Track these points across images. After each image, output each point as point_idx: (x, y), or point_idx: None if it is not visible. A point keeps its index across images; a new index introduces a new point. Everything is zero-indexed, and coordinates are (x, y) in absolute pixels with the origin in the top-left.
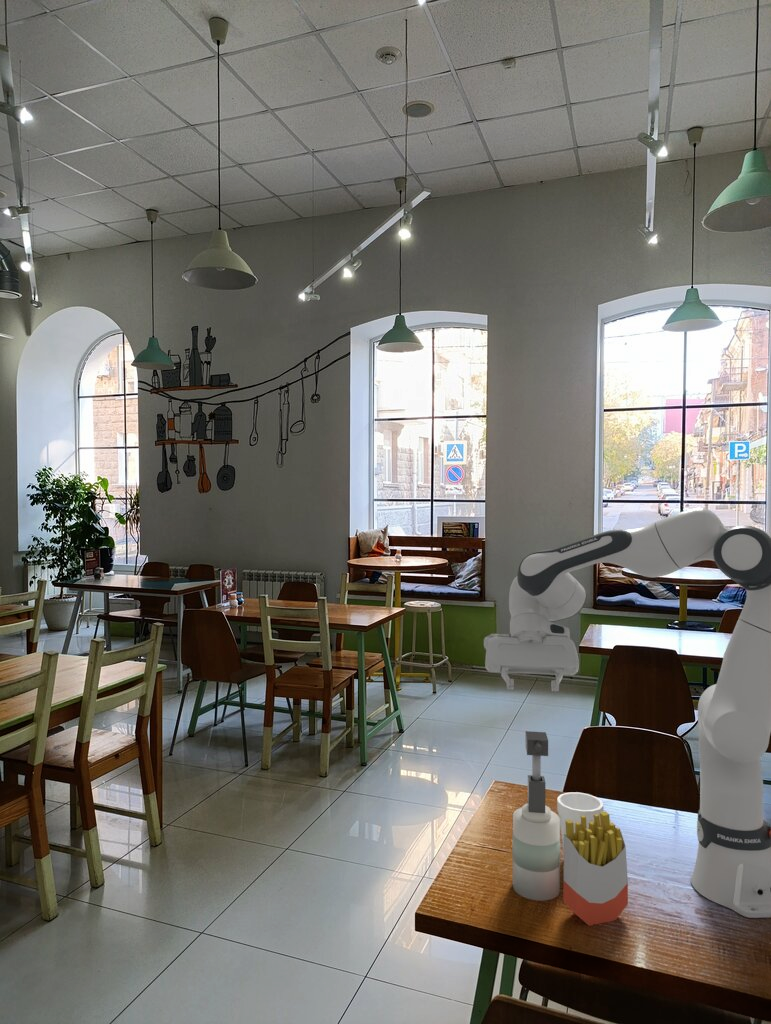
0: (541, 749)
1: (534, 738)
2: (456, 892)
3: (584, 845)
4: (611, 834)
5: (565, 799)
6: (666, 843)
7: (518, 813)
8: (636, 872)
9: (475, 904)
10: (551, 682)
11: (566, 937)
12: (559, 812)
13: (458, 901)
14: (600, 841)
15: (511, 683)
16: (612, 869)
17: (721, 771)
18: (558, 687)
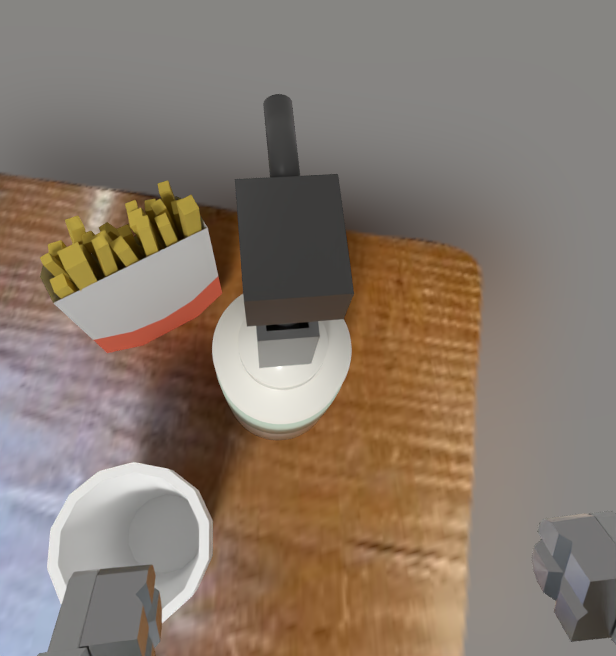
0: (268, 97)
1: (303, 194)
2: (440, 331)
3: (158, 185)
4: (74, 218)
5: (179, 590)
6: None
7: (336, 355)
8: (27, 520)
9: (396, 299)
10: (144, 651)
11: (223, 238)
12: (207, 510)
13: (430, 302)
14: (110, 231)
15: (581, 528)
16: (99, 263)
17: None
18: (80, 573)
